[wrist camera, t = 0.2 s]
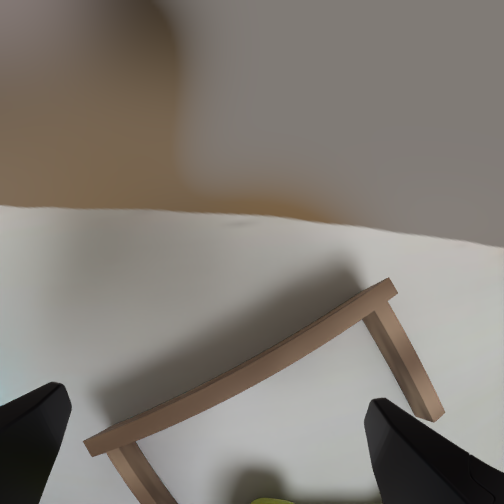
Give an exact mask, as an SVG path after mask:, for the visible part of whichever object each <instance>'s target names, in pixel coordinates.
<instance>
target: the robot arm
mask: <svg viewBox="0 0 504 504" xmlns="http://www.w3.org/2000/svg"><path fill="white" fill-rule="evenodd" d="M71 409H72V405H71V401H70V399H69V396H68V393H67V391H66V388H65V386H64V385H63V384H61V383H57V382H50V383H48V384H46V385H44V386H42V387H40V388H37V389H35V390H33V391H31V392H29V393H27V394H25V395H23V396H21V397H19V398H17V399H15V400H13V401H11V402H9V403H7V404H5V405H2V406H0V504H39V502H40V499H41V496H42V493H43V491H44V488H45V485H46V483H47V480H48V477H49V475H50V472H51V470H52V467H53V465H54V462H55V460H56V457H57V455H58V452H59V449H60V446H61V443H62V440H63V436H64V433H65V430H66V426H67V423H68V420H69V417H70V413H71ZM364 427H365V432H366V437H367V442H368V447H369V453H370V458H371V463H372V468H373V472H374V475H375V478H376V481H377V485H378V488H379V491H380V494H381V498H382V501H383V504H504V473H503V472H501V471H499V470H497V469H495V468H493V467H491V466H489V465H488V464H486V463H484V462H483V461H481V460H479V459H478V458H476V457H474V456H473V455H469V453H468V452H466V451H465V450H463V449H462V448H460V447H458V446H457V445H455V444H454V443H452V442H451V441H449V440H448V439H446V438H445V437H443V436H441V435H440V434H438V433H437V432H435V431H434V430H432V429H431V428H429V427H428V426H426V425H425V424H423V423H422V422H420V421H419V420H417V419H416V418H414V417H413V416H411V415H410V414H408V413H407V412H405V411H404V410H403V409H401V408H400V407H398V406H397V405H395V404H394V403H392V402H391V401H389V400H388V399H386V398H377V399H372V400H371V402H370V404H369V407H368V410H367V413H366V416H365V420H364Z"/></svg>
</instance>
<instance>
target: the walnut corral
mask: <svg viewBox="0 0 504 504" xmlns="http://www.w3.org/2000/svg"><path fill="white" fill-rule="evenodd" d="M396 294H398V292H397V290H396V289H395V287H394V285H393V283H392V282H391V280H390V278H389V277H388V278H386V279H384V280H383V281H381V282H379V283H377V284H375V285H373V286H371V287H369V288H367V289H365V290H363V291H361V292H360V293H358V294H357V295H355V296H354V297H352V298H351V299H349V300H348V301H346V302H345V303H343V304H341V305H340V306H338V307H337V308H335V309H334V310H332V311H331V312H329V313H327V314H326V315H324V316H323V317H321V318H319V319H318V320H316V321H315V322H313V323H311V324H310V325H308V326H306V327H305V328H303V329H301V330H300V331H298V332H296V333H295V334H293V335H291V336H290V337H288V338H286V339H285V340H283V341H281V342H280V343H278V344H276V345H274V346H273V347H271V348H269V349H267V350H266V351H264V352H262V353H260V354H258V355H257V356H255V357H253V358H251V359H249V360H248V361H246V362H244V363H242V364H240V365H238V366H237V367H235V368H233V369H231V370H229V371H227V372H225V373H223V374H222V375H220V376H218V377H216V378H214V379H212V380H210V381H208V382H206V383H204V384H202V385H200V386H198V387H196V388H194V389H192V390H190V391H188V392H186V393H184V394H182V395H180V396H178V397H176V398H173V399H171V400H169V401H167V402H165V403H163V404H161V405H158V406H156V407H154V408H152V409H150V410H148V411H145V412H143V413H141V414H139V415H136V416H134V417H132V418H129V419H127V420H125V421H122V422H120V423H118V424H115V425H113V426H111V427H109V428H107V429H105V430H103V431H101V432H100V433H98V434H96V435H94V436H92V437H90V438H88V439H86V440H85V441H83V442H84V444H85V446H86V448H87V449H88V451H89V453H90V455H91V456H92V457H94V456H97V455H100V454H103V453H105V452H106V453H107V455H108V457H109V458H110V460H111V461H112V463H113V465H114V466H115V468H116V469H117V471H118V472H119V474H120V475H121V477H122V478H123V480H124V481H125V483H126V484H127V486H128V487H129V489H130V490H131V491H132V493H133V494H134V496H135V497H136V498H137V500H138V501H139V502H140V504H178V503H177V502H176V501H175V499H174V498H173V497H172V495H171V494H170V493H169V491H168V490H167V489H166V487H165V486H164V485H163V483H162V482H161V480H160V479H159V477H158V476H157V475H156V473H155V472H154V470H153V469H152V467H151V466H150V464H149V463H148V461H147V460H146V458H145V457H144V455H143V453H142V452H141V450H140V449H139V447H138V445H137V444H136V442H135V441H137V440H140V439H142V438H145V437H147V436H149V435H152V434H154V433H157V432H159V431H161V430H164V429H166V428H168V427H170V426H173V425H175V424H177V423H179V422H182V421H184V420H186V419H188V418H190V417H192V416H195V415H197V414H199V413H201V412H203V411H205V410H207V409H209V408H211V407H213V406H215V405H217V404H219V403H221V402H223V401H225V400H227V399H229V398H231V397H233V396H235V395H237V394H239V393H241V392H243V391H244V390H246V389H248V388H250V387H252V386H254V385H256V384H257V383H259V382H261V381H263V380H265V379H266V378H268V377H270V376H272V375H274V374H275V373H277V372H279V371H281V370H282V369H284V368H286V367H287V366H289V365H291V364H293V363H294V362H296V361H298V360H299V359H301V358H303V357H304V356H306V355H307V354H309V353H311V352H312V351H314V350H316V349H317V348H319V347H320V346H322V345H324V344H325V343H327V342H328V341H330V340H331V339H333V338H334V337H336V336H337V335H339V334H341V333H342V332H344V331H345V330H347V329H348V328H350V327H351V326H353V325H354V324H355V323H357V322H358V321H360V320H361V319H363V321H364V323H365V325H366V326H367V328H368V330H369V331H370V333H371V335H372V337H373V338H374V340H375V342H376V344H377V346H378V347H379V349H380V351H381V353H382V354H383V356H384V358H385V360H386V362H387V363H388V365H389V367H390V369H391V371H392V373H393V374H394V376H395V378H396V380H397V382H398V384H399V386H400V388H401V389H402V391H403V393H404V395H405V397H406V399H407V401H408V403H409V405H410V407H411V409H412V410H413V412H414V414H415V416H416V417H419V418H422V419H425V420H428V421H431V422H435V421H437V420H438V419H439V418H440V417H441V416H442V415H443V414H444V413H445V411H444V408H443V406H442V404H441V402H440V400H439V398H438V396H437V394H436V391H435V389H434V387H433V385H432V383H431V381H430V379H429V377H428V375H427V373H426V371H425V369H424V367H423V365H422V363H421V361H420V359H419V358H418V356H417V354H416V352H415V350H414V348H413V346H412V344H411V342H410V341H409V339H408V337H407V335H406V333H405V331H404V329H403V328H402V326H401V324H400V322H399V320H398V319H397V317H396V315H395V313H394V312H393V310H392V308H391V306H390V305H389V303H388V300H390V299H391V298H392V297H394V296H395V295H396Z"/></svg>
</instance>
